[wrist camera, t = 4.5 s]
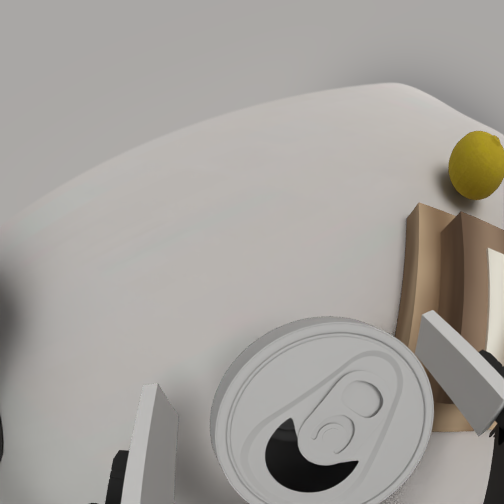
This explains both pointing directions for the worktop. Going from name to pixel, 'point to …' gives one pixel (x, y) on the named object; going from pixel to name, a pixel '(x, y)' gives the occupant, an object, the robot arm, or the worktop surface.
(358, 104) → the worktop surface
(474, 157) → the lemon
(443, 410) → the pedestal
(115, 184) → the worktop surface
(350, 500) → the beverage can
